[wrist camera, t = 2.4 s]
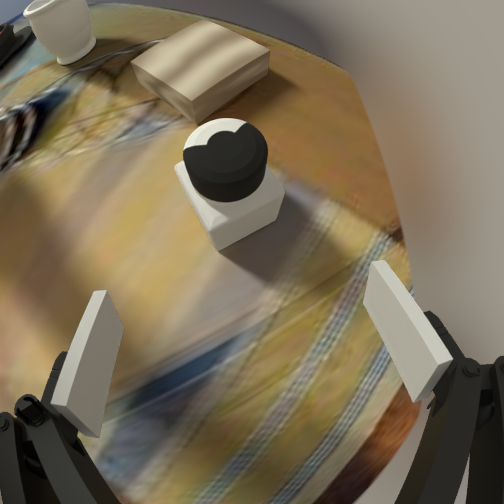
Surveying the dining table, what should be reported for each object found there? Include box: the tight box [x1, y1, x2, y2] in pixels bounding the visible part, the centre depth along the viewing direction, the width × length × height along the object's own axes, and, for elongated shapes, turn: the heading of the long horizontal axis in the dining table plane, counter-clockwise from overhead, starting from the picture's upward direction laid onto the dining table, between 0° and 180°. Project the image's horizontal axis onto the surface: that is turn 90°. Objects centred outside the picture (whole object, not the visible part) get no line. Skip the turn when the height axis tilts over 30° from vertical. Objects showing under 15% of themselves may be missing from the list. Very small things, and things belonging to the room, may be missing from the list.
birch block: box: [131, 19, 270, 125], centre depth 33 cm, size 13×13×5 cm
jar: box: [23, 0, 96, 65], centre depth 31 cm, size 11×10×15 cm
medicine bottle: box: [175, 118, 285, 251], centre depth 25 cm, size 7×7×12 cm
